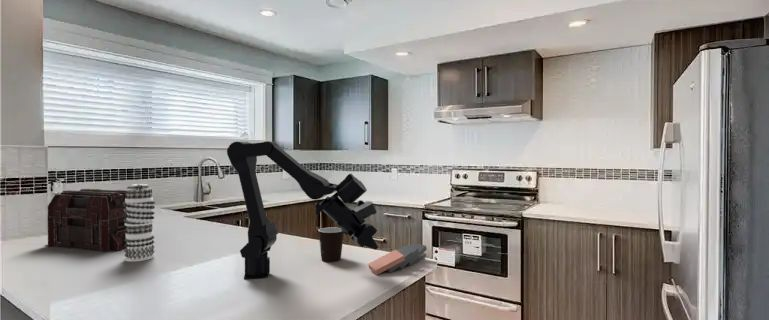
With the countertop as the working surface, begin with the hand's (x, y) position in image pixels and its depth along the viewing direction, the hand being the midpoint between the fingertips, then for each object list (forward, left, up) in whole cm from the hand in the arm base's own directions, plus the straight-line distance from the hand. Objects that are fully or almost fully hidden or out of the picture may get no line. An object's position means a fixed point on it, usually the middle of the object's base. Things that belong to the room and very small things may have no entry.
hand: (376, 248), depth 114 cm
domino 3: (+7, +3, -7) cm, 10 cm away
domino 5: (+12, +9, -7) cm, 17 cm away
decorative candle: (-73, +37, -8) cm, 82 cm away
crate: (-96, +64, -8) cm, 115 cm away
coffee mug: (-10, +20, -8) cm, 24 cm away
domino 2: (+3, +2, -7) cm, 7 cm away
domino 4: (+10, +6, -7) cm, 14 cm away
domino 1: (-1, +1, -6) cm, 7 cm away
